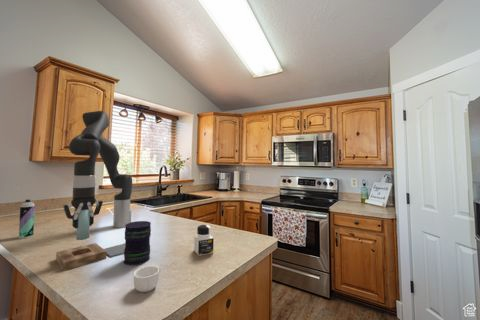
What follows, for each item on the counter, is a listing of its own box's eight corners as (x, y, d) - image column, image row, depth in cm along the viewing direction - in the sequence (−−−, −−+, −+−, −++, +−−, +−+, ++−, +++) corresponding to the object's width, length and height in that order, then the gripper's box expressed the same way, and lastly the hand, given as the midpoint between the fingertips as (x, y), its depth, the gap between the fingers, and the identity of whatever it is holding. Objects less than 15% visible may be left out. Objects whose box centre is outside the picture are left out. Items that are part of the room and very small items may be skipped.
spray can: (16, 237, 111) (18, 199, 112) (30, 234, 116) (31, 198, 117) (22, 239, 109) (23, 200, 110) (35, 236, 114) (37, 199, 115)
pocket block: (95, 249, 98) (95, 243, 98) (106, 258, 89) (106, 251, 89) (55, 259, 87) (56, 252, 87) (63, 270, 78) (64, 262, 78)
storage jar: (132, 268, 81) (133, 229, 81) (118, 261, 86) (119, 224, 87) (155, 258, 89) (156, 223, 90) (141, 253, 95) (142, 219, 95)
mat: (126, 244, 105) (126, 242, 105) (136, 250, 98) (136, 248, 98) (101, 250, 97) (101, 249, 97) (110, 257, 90) (110, 256, 90)
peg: (87, 235, 91) (88, 207, 92) (90, 238, 89) (91, 209, 89) (74, 238, 88) (75, 209, 88) (77, 240, 85) (78, 211, 85)
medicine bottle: (198, 256, 92) (198, 228, 93) (193, 250, 99) (194, 224, 99) (213, 253, 96) (214, 226, 96) (208, 247, 102) (208, 223, 102)
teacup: (146, 298, 63) (146, 279, 63) (127, 292, 66) (127, 274, 66) (168, 281, 72) (169, 265, 73) (151, 276, 75) (151, 261, 75)
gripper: (100, 184, 97) (99, 221, 96) (60, 186, 86) (59, 228, 85) (106, 185, 92) (105, 224, 92) (64, 188, 81) (63, 232, 81)
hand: (83, 226), depth 88 cm, fingers closed on peg, 4 cm apart
